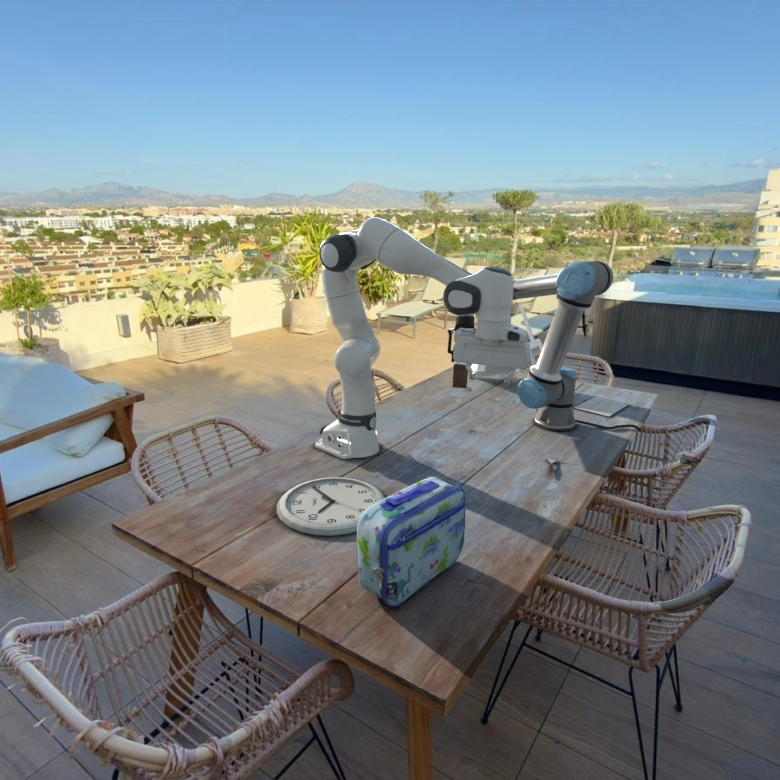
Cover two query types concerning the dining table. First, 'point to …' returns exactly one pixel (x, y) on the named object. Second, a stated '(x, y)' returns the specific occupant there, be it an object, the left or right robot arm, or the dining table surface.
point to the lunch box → (410, 539)
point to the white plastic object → (495, 370)
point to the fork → (551, 462)
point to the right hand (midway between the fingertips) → (461, 370)
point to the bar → (460, 375)
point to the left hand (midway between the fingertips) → (489, 381)
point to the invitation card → (601, 406)
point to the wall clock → (327, 505)
